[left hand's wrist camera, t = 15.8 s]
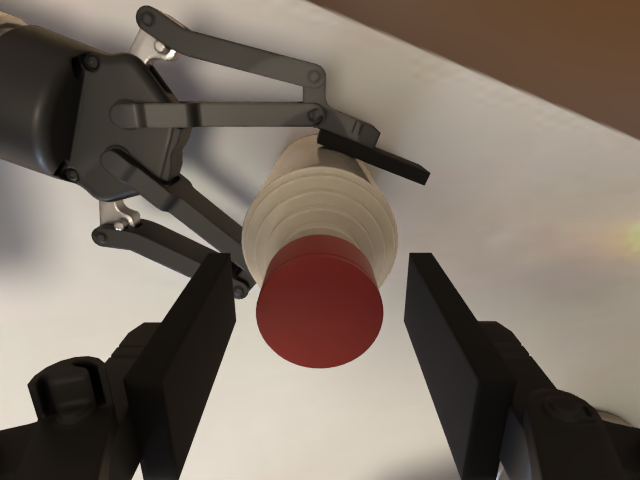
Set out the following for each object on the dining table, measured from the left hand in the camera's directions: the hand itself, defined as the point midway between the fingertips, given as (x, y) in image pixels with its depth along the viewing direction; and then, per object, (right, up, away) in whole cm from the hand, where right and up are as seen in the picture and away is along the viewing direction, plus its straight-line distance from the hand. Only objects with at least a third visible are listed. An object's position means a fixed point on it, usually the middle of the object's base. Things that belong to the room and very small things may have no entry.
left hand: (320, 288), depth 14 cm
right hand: (+5, +2, +11) cm, 12 cm away
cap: (0, -1, -1) cm, 2 cm away
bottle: (0, +6, +16) cm, 17 cm away
